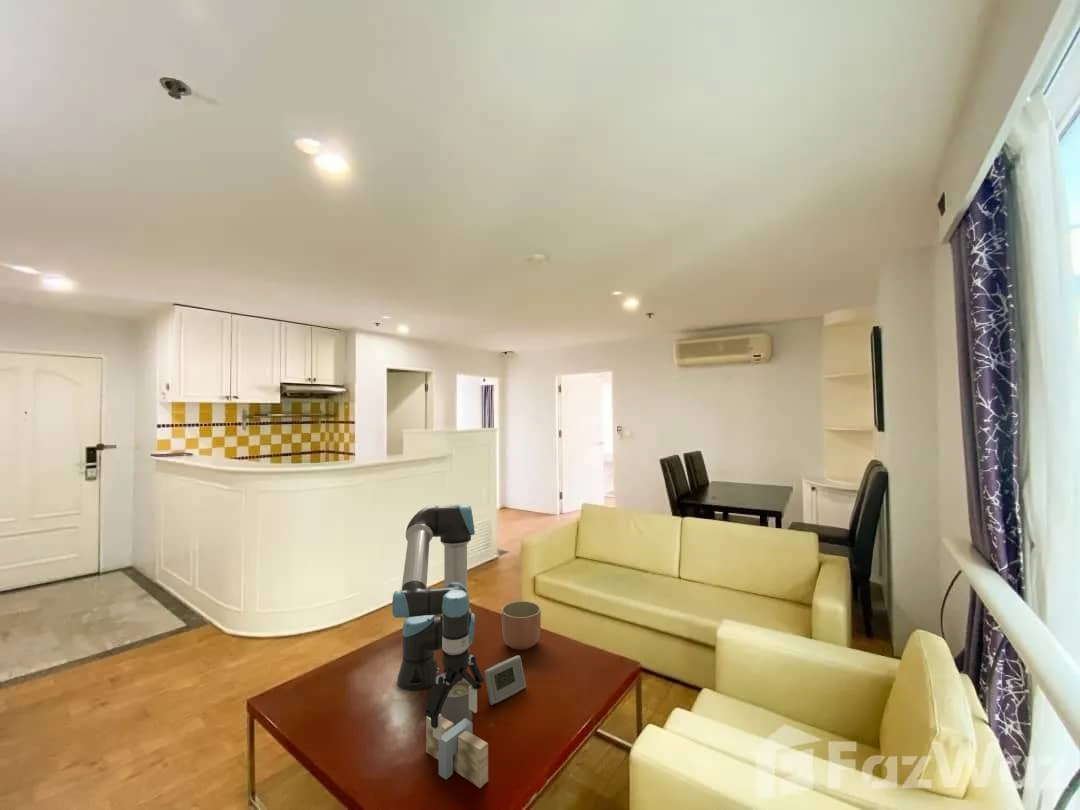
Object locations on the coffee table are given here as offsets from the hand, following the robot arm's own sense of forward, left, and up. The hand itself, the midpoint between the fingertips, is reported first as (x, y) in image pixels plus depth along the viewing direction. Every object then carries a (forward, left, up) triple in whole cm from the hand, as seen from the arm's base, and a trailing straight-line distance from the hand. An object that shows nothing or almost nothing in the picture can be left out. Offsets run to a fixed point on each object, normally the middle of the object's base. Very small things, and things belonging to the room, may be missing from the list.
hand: (455, 723), depth 128 cm
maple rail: (0, 0, -11) cm, 11 cm away
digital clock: (-10, +33, -12) cm, 36 cm away
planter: (-28, +64, -12) cm, 70 cm away
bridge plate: (0, 0, -11) cm, 11 cm away
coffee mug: (-16, +15, -12) cm, 24 cm away
